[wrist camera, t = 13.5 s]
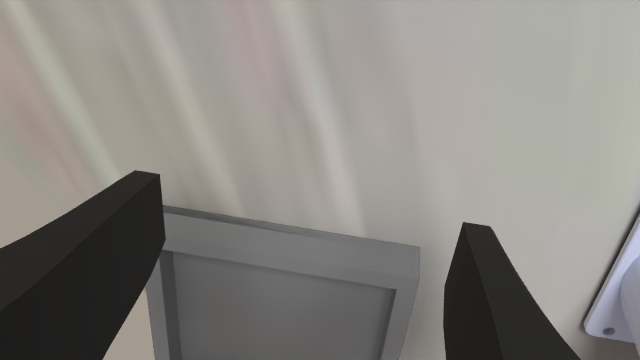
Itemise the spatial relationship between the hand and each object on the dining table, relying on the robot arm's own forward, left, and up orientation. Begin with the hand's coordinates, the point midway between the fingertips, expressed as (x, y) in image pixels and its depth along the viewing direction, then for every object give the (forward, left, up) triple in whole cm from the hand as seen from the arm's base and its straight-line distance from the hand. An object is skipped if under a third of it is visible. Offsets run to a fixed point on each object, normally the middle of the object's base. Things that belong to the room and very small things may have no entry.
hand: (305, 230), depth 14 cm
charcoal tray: (+2, +14, -9) cm, 17 cm away
